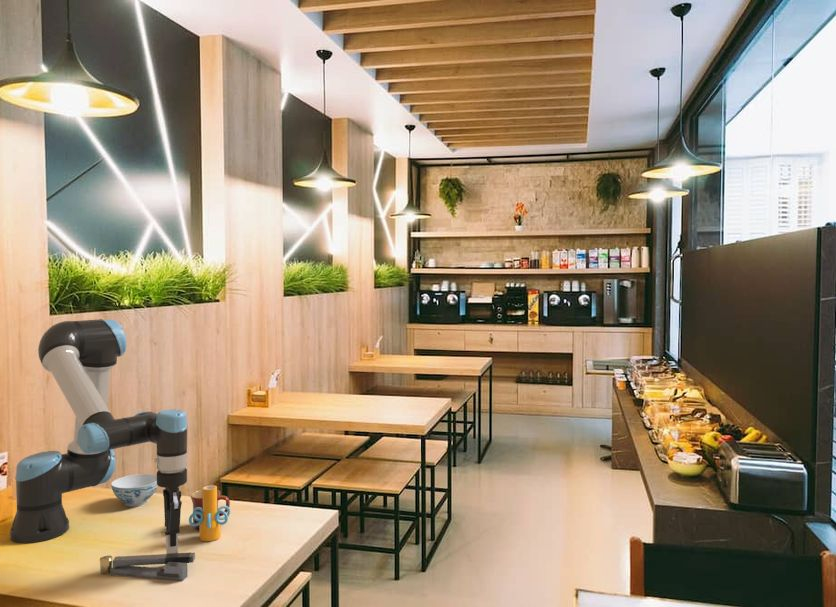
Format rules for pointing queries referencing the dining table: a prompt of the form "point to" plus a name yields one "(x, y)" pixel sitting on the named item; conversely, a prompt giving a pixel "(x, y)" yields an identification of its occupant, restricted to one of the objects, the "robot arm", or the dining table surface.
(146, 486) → the chinaware
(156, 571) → the tongs fixed
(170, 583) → the dining table surface
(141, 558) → the tongs arm
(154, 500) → the dining table surface
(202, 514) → the cylinder
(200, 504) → the mug
